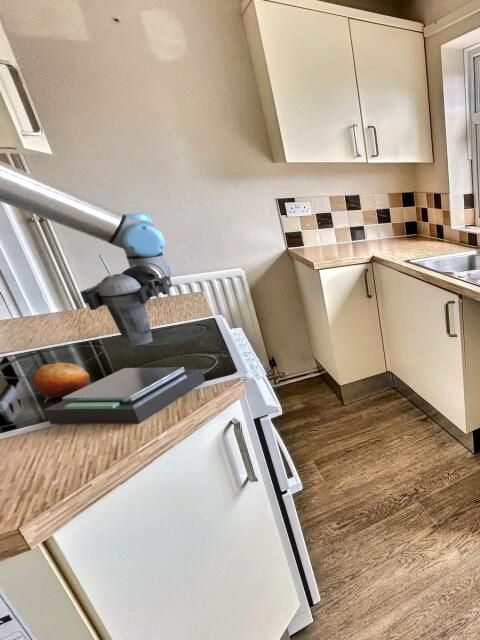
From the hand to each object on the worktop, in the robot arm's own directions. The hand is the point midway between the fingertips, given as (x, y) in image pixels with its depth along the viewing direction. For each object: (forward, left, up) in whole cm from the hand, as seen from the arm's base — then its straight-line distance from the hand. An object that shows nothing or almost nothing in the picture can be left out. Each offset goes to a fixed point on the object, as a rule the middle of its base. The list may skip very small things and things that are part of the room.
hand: (116, 300), depth 87 cm
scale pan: (+6, -9, -15) cm, 19 cm away
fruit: (-12, -6, -19) cm, 23 cm away
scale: (+6, -9, -19) cm, 22 cm away
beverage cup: (-2, +4, -11) cm, 12 cm away
